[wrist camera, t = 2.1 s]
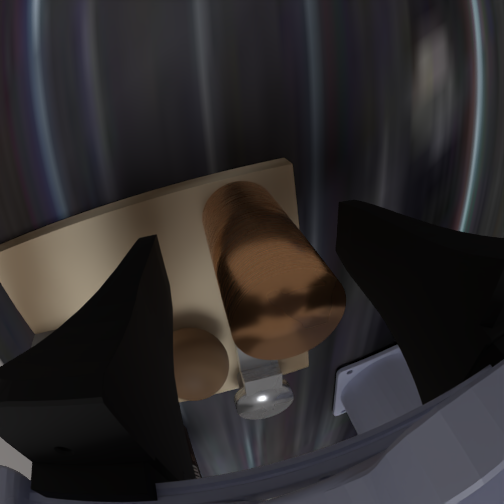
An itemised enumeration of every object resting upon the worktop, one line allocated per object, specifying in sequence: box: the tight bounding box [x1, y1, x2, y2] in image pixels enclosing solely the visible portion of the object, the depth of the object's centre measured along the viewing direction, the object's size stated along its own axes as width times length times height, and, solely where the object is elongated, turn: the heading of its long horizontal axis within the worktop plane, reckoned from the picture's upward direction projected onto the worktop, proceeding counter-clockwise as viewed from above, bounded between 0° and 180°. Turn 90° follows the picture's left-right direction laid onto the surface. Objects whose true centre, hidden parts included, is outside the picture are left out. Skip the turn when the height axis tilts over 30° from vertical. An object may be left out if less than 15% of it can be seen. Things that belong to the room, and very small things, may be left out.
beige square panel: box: [0, 158, 309, 402], centre depth 15 cm, size 14×14×3 cm
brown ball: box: [173, 328, 229, 401], centre depth 14 cm, size 4×4×4 cm
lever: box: [202, 181, 346, 420], centre depth 13 cm, size 14×3×6 cm, turn 4°
